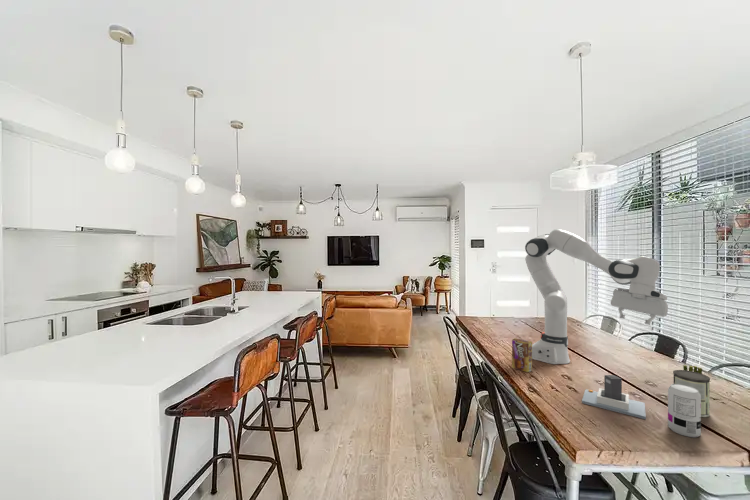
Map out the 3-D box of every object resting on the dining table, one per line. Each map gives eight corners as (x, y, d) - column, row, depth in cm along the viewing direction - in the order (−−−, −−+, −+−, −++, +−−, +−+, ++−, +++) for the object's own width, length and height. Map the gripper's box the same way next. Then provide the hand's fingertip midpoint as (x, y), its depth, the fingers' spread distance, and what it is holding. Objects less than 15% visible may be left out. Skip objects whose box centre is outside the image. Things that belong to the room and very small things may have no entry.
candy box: (532, 370, 166) (532, 341, 166) (528, 372, 163) (528, 342, 163) (515, 366, 173) (515, 337, 173) (511, 367, 170) (511, 339, 170)
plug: (604, 399, 132) (604, 375, 132) (613, 399, 132) (614, 374, 132) (611, 403, 128) (611, 378, 128) (621, 403, 128) (621, 378, 128)
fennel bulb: (681, 391, 142) (681, 364, 142) (688, 389, 144) (688, 363, 144) (698, 397, 137) (698, 369, 137) (705, 395, 139) (705, 367, 139)
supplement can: (661, 425, 114) (661, 383, 114) (682, 424, 115) (682, 382, 115) (685, 438, 106) (685, 393, 106) (707, 437, 107) (708, 392, 107)
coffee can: (667, 402, 132) (667, 368, 132) (699, 406, 128) (699, 371, 128) (681, 414, 122) (682, 377, 122) (716, 419, 119) (717, 381, 119)
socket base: (581, 403, 131) (581, 394, 131) (585, 391, 142) (585, 383, 142) (645, 419, 118) (645, 409, 118) (644, 405, 129) (644, 396, 129)
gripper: (612, 285, 153) (605, 313, 152) (668, 295, 136) (660, 327, 135) (616, 288, 157) (610, 315, 156) (672, 298, 140) (664, 328, 139)
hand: (634, 321), depth 146 cm, fingers open, 8 cm apart
